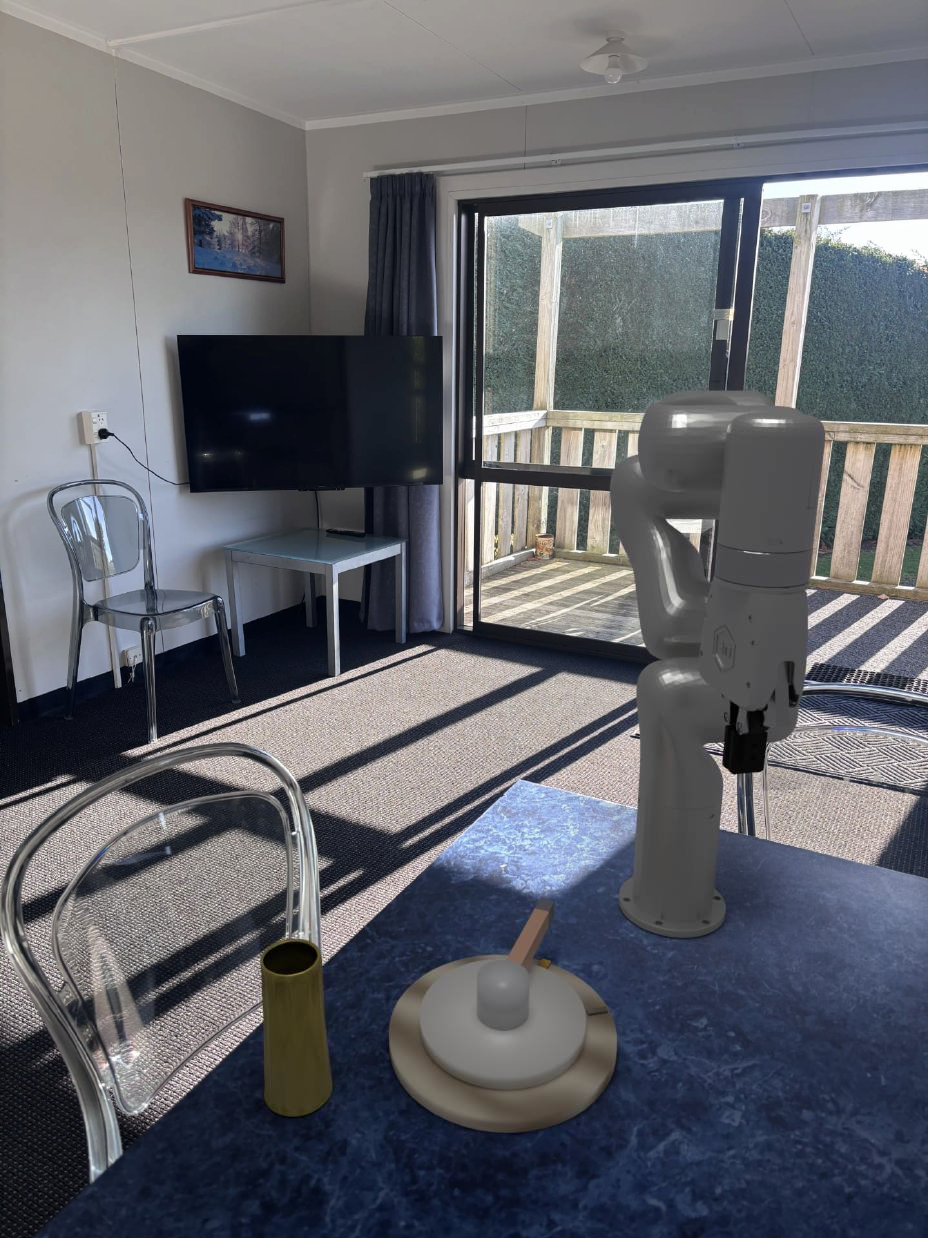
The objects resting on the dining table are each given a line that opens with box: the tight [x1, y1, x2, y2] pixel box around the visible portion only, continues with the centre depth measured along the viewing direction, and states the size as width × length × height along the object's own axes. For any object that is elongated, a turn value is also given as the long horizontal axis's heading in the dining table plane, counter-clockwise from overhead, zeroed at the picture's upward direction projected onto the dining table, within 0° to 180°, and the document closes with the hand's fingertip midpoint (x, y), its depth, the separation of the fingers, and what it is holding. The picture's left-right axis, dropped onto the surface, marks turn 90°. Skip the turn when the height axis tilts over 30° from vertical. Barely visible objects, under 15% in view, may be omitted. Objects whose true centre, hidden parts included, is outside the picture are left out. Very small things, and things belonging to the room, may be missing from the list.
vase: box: [259, 938, 334, 1118], centre depth 80 cm, size 6×6×14 cm
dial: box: [420, 898, 586, 1089], centre depth 90 cm, size 22×16×6 cm
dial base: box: [388, 954, 618, 1134], centre depth 88 cm, size 22×22×2 cm
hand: (742, 769), depth 79 cm, fingers closed
